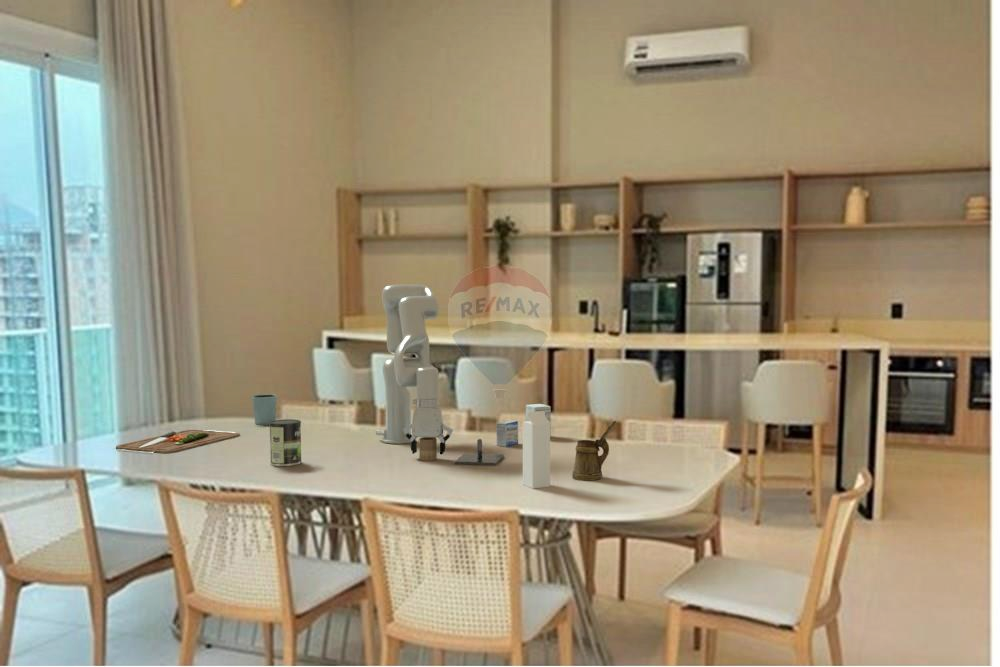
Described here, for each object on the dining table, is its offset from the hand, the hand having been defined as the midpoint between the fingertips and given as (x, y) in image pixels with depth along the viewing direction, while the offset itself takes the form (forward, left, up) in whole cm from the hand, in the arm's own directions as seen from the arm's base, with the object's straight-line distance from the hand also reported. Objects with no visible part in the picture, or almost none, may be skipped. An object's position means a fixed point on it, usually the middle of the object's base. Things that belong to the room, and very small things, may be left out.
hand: (428, 453), depth 291 cm
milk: (+42, -32, -2) cm, 53 cm away
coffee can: (-45, -15, -2) cm, 47 cm away
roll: (0, 0, -2) cm, 2 cm away
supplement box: (+31, +47, -2) cm, 56 cm away
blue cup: (-90, +61, -2) cm, 109 cm away
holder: (+18, 0, -2) cm, 18 cm away
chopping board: (-102, +15, -3) cm, 103 cm away
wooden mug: (+58, -19, -2) cm, 61 cm away
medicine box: (+22, +30, -2) cm, 37 cm away
